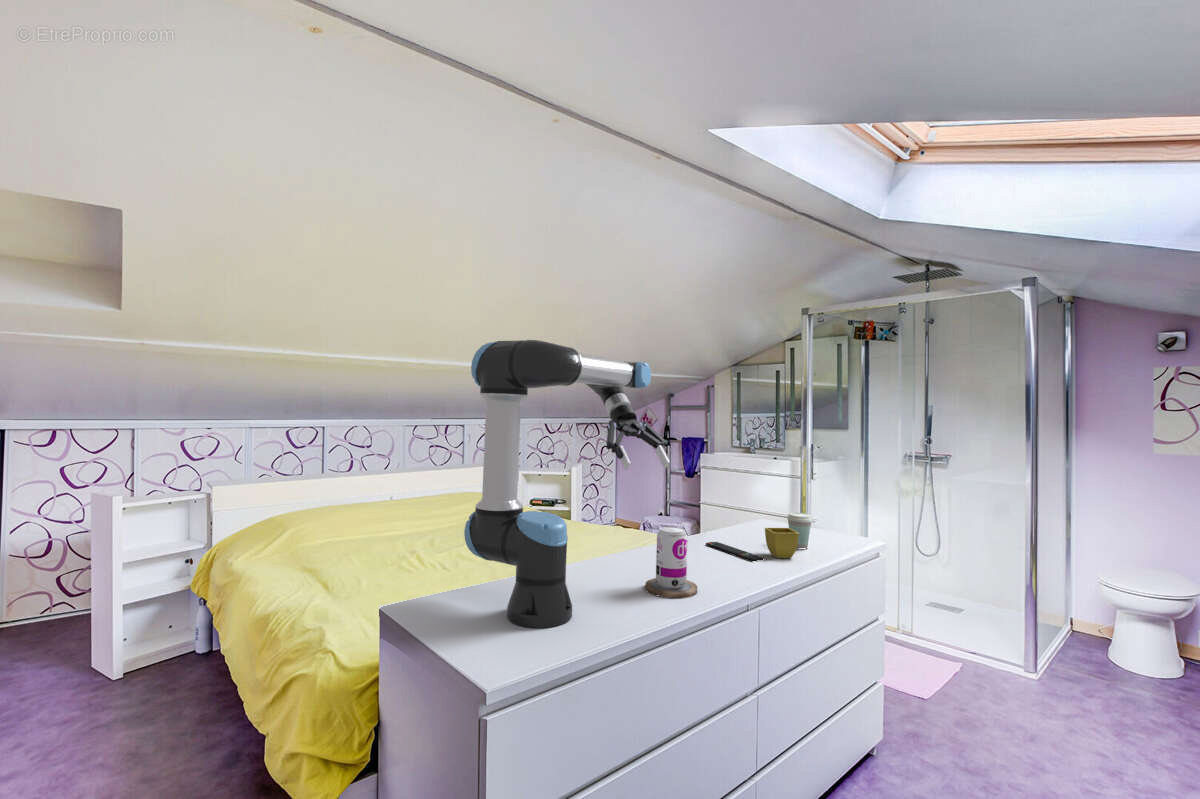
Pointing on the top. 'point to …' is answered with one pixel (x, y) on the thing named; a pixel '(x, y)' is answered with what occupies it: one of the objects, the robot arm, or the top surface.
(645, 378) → the robot arm
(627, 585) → the top surface
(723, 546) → the remote control
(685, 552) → the supplement can
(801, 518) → the coffee cup
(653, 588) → the walnut pad
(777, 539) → the flower pot
